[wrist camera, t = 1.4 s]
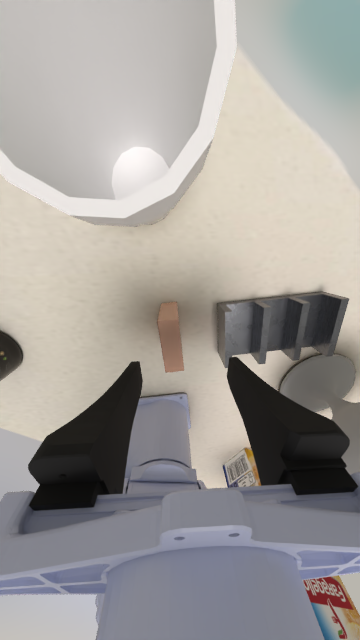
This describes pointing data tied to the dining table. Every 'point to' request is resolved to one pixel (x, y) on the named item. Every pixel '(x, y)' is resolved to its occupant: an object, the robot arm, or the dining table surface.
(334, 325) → the dish rack
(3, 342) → the supplement bottle
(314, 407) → the chalice
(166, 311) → the tan wooden block
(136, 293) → the dining table surface
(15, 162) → the foam cup
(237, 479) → the beverage box
